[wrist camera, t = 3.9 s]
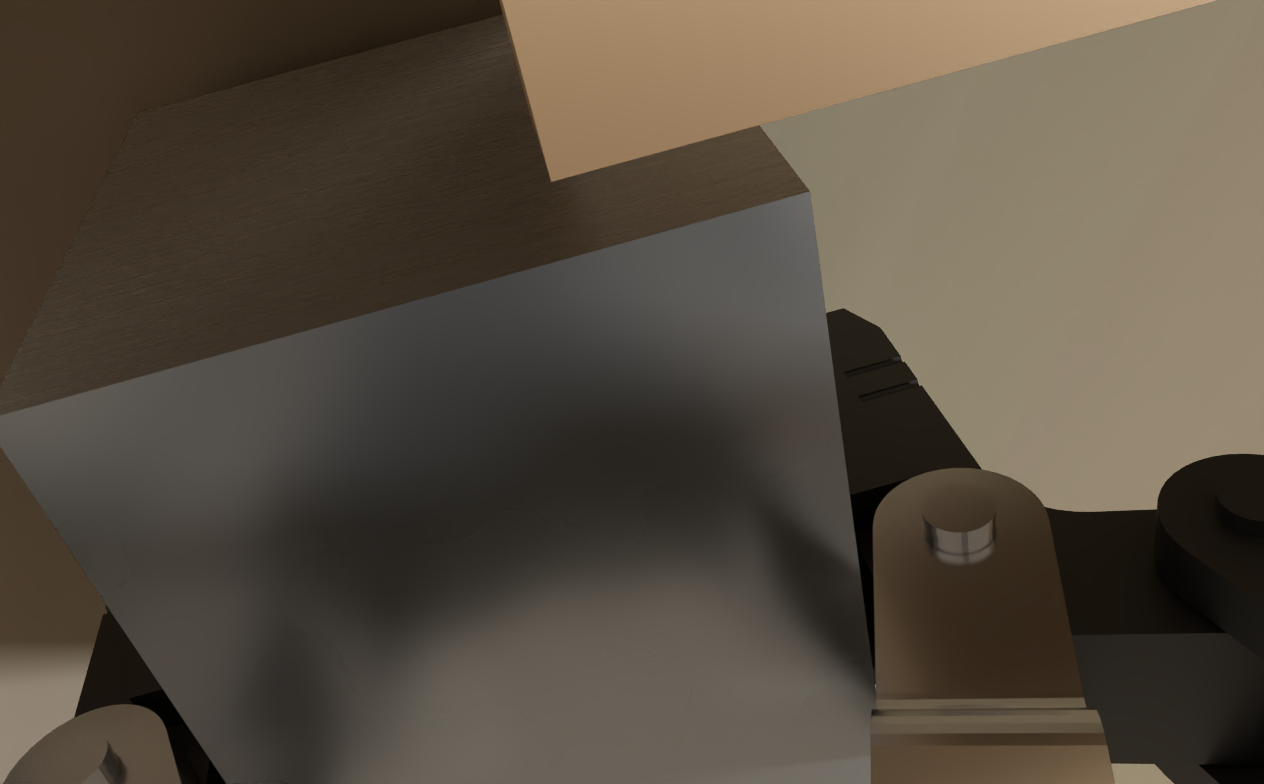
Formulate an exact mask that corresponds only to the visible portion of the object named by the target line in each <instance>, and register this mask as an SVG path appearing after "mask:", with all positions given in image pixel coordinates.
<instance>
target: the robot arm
mask: <svg viewBox="0 0 1264 784" xmlns="http://www.w3.org/2000/svg"><path fill="white" fill-rule="evenodd" d="M826 318H827V325H828V333H829V341H830V348H831V356H832V363H833V371H834V379H835V386H836V394H837V401H838V409H839V417H840V424H841V432H842V439H843V447H844V455H845V462H846V470H847V477H848V485H849V493H850V500H851V508H852V515H853V523H854V531H855V538H856V546H857V554H858V561H859V569H860V576H861V584H862V592H863V599H864V607H865V614H866V622H867V630H868V637H869V645H870V652H871V660H872V668H873V675H874V683H875V684H876V709H872V711H871V723H870V754H871V784H1115V781H1114V776H1113V771H1112V767H1111V763H1126V764H1155V765H1156V766H1157V767H1158V768H1159V769H1160V770H1161V771H1162V772H1163V773H1164V774H1165V775H1166V776H1167V777H1168V778H1169V779H1170V780H1171V781H1172V782H1173V783H1174V784H1264V455H1256V454H1227V455H1221V456H1214V457H1209V458H1206V459H1202V460H1199V461H1196V462H1194V463H1191V464H1189V465H1187V466H1185V467H1183V468H1182V469H1180V470H1178V471H1177V472H1175V473H1174V474H1173V475H1172V476H1171V477H1170V478H1169V479H1168V480H1167V481H1166V482H1165V484H1164V485H1163V487H1162V489H1161V491H1160V494H1159V497H1158V503H1157V509H1156V510H1130V511H1105V512H1073V511H1064V510H1056V509H1051V508H1047V507H1044V506H1043V504H1042V502H1041V501H1040V499H1039V498H1038V497H1037V496H1036V495H1035V494H1034V493H1033V492H1032V491H1031V490H1029V489H1028V488H1027V487H1025V486H1024V485H1023V484H1021V483H1019V482H1017V481H1015V480H1014V479H1012V478H1010V477H1007V476H1004V475H1001V474H999V473H995V472H991V471H987V470H982V469H981V467H980V466H979V465H978V463H977V462H976V460H975V459H974V458H973V456H972V455H971V454H970V452H969V451H968V449H967V448H966V447H965V445H964V444H963V442H962V441H961V440H960V438H959V437H958V435H957V434H956V433H955V431H954V430H953V428H952V427H951V426H950V424H949V423H948V421H947V420H946V419H945V417H944V416H943V414H942V413H941V412H940V410H939V409H938V408H937V406H936V405H935V403H934V402H933V401H932V399H931V398H930V396H929V395H928V394H927V392H926V391H925V389H924V388H923V387H922V385H921V386H919V384H918V381H917V378H916V377H915V375H914V374H913V373H912V371H911V370H910V368H909V367H908V366H907V364H906V363H905V362H902V360H901V356H900V355H899V353H898V352H897V350H896V349H895V348H894V346H893V345H892V343H891V342H890V341H889V339H888V338H887V336H886V335H885V334H884V332H883V331H882V329H881V328H880V327H878V326H876V325H874V324H872V323H870V322H868V321H867V320H865V319H863V318H861V317H859V316H857V315H855V314H853V313H851V312H849V311H848V310H846V309H844V308H843V309H839V310H836V311H832V312H828V313H826ZM106 609H107V614H104V615H103V617H102V621H101V624H100V628H99V631H98V635H97V639H96V642H95V646H94V649H93V653H92V656H91V660H90V663H89V667H88V670H87V674H86V678H85V681H84V685H83V688H82V692H81V695H80V699H79V702H78V706H77V710H76V713H75V717H74V718H73V719H71V720H69V721H67V722H66V723H64V724H62V725H61V726H59V727H57V728H56V729H54V730H53V731H52V732H50V733H49V734H47V735H46V736H45V737H43V738H42V739H41V740H40V741H39V742H37V743H36V744H35V745H34V746H33V747H32V748H30V750H29V751H28V752H27V753H26V754H25V755H24V756H23V757H22V758H21V759H20V760H19V761H18V762H17V764H16V765H15V766H14V768H13V769H12V770H11V771H10V773H9V774H8V776H7V778H6V779H5V781H4V783H3V784H226V783H225V781H224V780H223V778H222V777H221V775H220V774H219V772H218V771H217V769H216V768H215V766H214V765H213V763H212V762H211V760H210V759H209V757H208V756H207V754H206V753H205V751H204V750H203V748H202V747H201V745H200V744H199V742H198V741H197V739H196V738H195V736H194V735H193V733H192V732H191V730H190V729H189V727H188V726H187V724H186V723H185V721H184V720H183V718H182V717H181V715H180V714H179V712H178V711H177V709H176V708H175V706H174V705H173V704H172V702H171V701H170V699H169V698H168V696H167V695H166V693H165V692H164V690H163V689H162V687H161V686H160V684H159V683H158V681H157V680H156V678H155V677H154V675H153V674H152V672H151V671H150V669H149V668H148V666H147V665H146V663H145V662H144V660H143V659H142V657H141V656H140V654H139V653H138V651H137V650H136V648H135V647H134V645H133V644H132V642H131V641H130V639H129V638H128V636H127V635H126V633H125V632H124V630H123V629H122V627H121V626H120V624H119V623H118V622H117V620H116V619H115V617H114V616H113V614H112V613H111V611H110V610H109V608H108V607H107V605H106Z"/></svg>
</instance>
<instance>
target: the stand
mask: <svg viewBox="0 0 1264 784" xmlns="http://www.w3.org/2000/svg"><path fill="white" fill-rule="evenodd" d="M1212 1H1216V0H499V2H500V5H501V9H502V13H503V16H504V20H505V24H506V27H507V31H508V35H509V38H510V42H511V46H512V49H513V53H514V57H515V60H516V64H517V68H518V71H519V75H520V79H521V82H522V86H523V90H524V93H525V97H526V101H527V104H528V108H529V112H530V115H531V118H532V122H533V125H534V128H535V131H536V134H537V138H538V141H539V144H540V147H541V151H542V154H543V157H544V160H545V163H546V167H547V170H548V173H549V176H550V180H551V182H552V181H556V180H560V179H563V178H567V177H571V176H574V175H578V174H582V173H585V172H589V171H593V170H596V169H600V168H604V167H607V166H611V165H615V164H618V163H622V162H626V161H629V160H633V159H637V158H640V157H644V156H648V155H651V154H655V153H659V152H662V151H666V150H670V149H673V148H677V147H681V146H684V145H688V144H692V143H695V142H699V141H703V140H706V139H710V138H714V137H717V136H721V135H725V134H728V133H732V132H736V131H739V130H743V129H747V128H750V127H754V126H758V125H761V124H765V123H769V122H772V121H776V120H780V119H783V118H787V117H791V116H794V115H798V114H802V113H805V112H809V111H813V110H816V109H820V108H824V107H827V106H831V105H835V104H838V103H842V102H846V101H849V100H853V99H857V98H860V97H864V96H868V95H871V94H875V93H879V92H882V91H886V90H890V89H893V88H897V87H901V86H904V85H908V84H912V83H915V82H919V81H923V80H926V79H930V78H934V77H937V76H941V75H945V74H948V73H952V72H955V71H959V70H963V69H966V68H970V67H974V66H977V65H981V64H985V63H988V62H992V61H996V60H999V59H1003V58H1007V57H1010V56H1014V55H1018V54H1021V53H1025V52H1029V51H1032V50H1036V49H1040V48H1043V47H1047V46H1051V45H1054V44H1058V43H1062V42H1065V41H1069V40H1073V39H1076V38H1080V37H1084V36H1087V35H1091V34H1095V33H1098V32H1102V31H1106V30H1109V29H1113V28H1117V27H1120V26H1124V25H1128V24H1131V23H1135V22H1139V21H1142V20H1146V19H1150V18H1153V17H1157V16H1161V15H1164V14H1168V13H1172V12H1175V11H1179V10H1183V9H1186V8H1190V7H1194V6H1197V5H1201V4H1205V3H1208V2H1212Z"/></svg>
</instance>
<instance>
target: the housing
mask: <svg viewBox="0 0 1264 784" xmlns="http://www.w3.org/2000/svg"><path fill="white" fill-rule="evenodd" d="M0 447H1V449H2V450H3V452H4V453H5V455H6V456H7V458H8V459H9V461H10V462H11V463H12V465H13V466H14V468H15V469H16V471H17V472H18V474H19V475H20V477H21V478H22V480H23V481H24V483H25V484H26V486H27V487H28V489H29V490H30V492H31V493H32V495H33V496H34V498H35V499H36V501H37V502H38V504H39V505H40V507H41V508H42V510H43V511H44V513H45V514H46V516H47V517H48V519H49V520H50V522H51V523H52V525H53V526H54V528H55V529H56V531H57V532H58V534H59V535H60V537H61V538H62V540H63V541H64V543H65V544H66V545H67V547H68V548H69V550H70V551H71V553H72V554H73V556H74V557H75V559H76V560H77V562H78V563H79V565H80V566H81V568H82V569H83V571H84V572H85V574H86V575H87V577H88V578H89V580H90V581H91V583H92V584H93V586H94V587H95V589H96V590H97V592H98V593H99V595H100V596H101V598H102V599H103V601H104V602H105V604H106V605H107V607H108V608H109V610H110V611H111V613H112V614H113V616H114V617H115V619H116V620H117V622H118V623H119V624H120V626H121V627H122V629H123V630H124V632H125V633H126V635H127V636H128V638H129V639H130V641H131V642H132V644H133V645H134V647H135V648H136V650H137V651H138V653H139V654H140V656H141V657H142V659H143V660H144V662H145V663H146V665H147V666H148V668H149V669H150V671H151V672H152V674H153V675H154V677H155V678H156V680H157V681H158V683H159V684H160V686H161V687H162V689H163V690H164V692H165V693H166V695H167V696H168V698H169V699H170V701H171V702H172V704H173V705H174V706H175V708H176V709H177V711H178V712H179V714H180V715H181V717H182V718H183V720H184V721H185V723H186V724H187V726H188V727H189V729H190V730H191V732H192V733H193V735H194V736H195V738H196V739H197V741H198V742H199V744H200V745H201V747H202V748H203V750H204V751H205V753H206V754H207V756H208V757H209V759H210V760H211V762H212V763H213V765H214V766H215V768H216V769H217V771H218V772H219V774H220V775H221V777H222V778H223V780H224V781H225V783H226V784H871V754H870V723H871V711H872V709H876V690H875V683H874V675H873V668H872V660H871V652H870V645H869V637H868V630H867V622H866V614H865V607H864V599H863V592H862V584H861V576H860V569H859V561H858V554H857V546H856V538H855V531H854V523H853V515H852V508H851V500H850V493H849V485H848V477H847V470H846V462H845V455H844V447H843V439H842V432H841V424H840V417H839V409H838V401H837V394H836V386H835V379H834V371H833V363H832V356H831V348H830V341H829V333H828V325H827V318H826V310H825V303H824V295H823V287H822V280H821V272H820V264H819V257H818V249H817V242H816V234H815V226H814V219H813V211H812V204H811V196H810V191H809V190H808V188H807V187H806V186H805V184H804V183H803V182H802V181H801V179H800V178H799V177H798V175H797V174H796V173H795V171H794V170H793V169H792V167H791V166H790V165H789V164H788V162H787V161H786V160H785V158H784V157H783V156H782V154H781V153H780V152H779V151H778V149H777V148H776V147H775V145H774V144H773V143H772V141H771V140H770V139H769V138H768V136H767V135H766V134H765V132H764V131H763V130H762V128H761V127H760V126H759V125H758V126H754V127H750V128H747V129H743V130H739V131H736V132H732V133H728V134H725V135H721V136H717V137H714V138H710V139H706V140H703V141H699V142H695V143H692V144H688V145H684V146H681V147H677V148H673V149H670V150H666V151H662V152H659V153H655V154H651V155H648V156H644V157H640V158H637V159H633V160H629V161H626V162H622V163H618V164H615V165H611V166H607V167H604V168H600V169H596V170H593V171H589V172H585V173H582V174H578V175H574V176H571V177H567V178H563V179H560V180H556V181H552V182H551V180H550V176H549V173H548V170H547V167H546V163H545V160H544V157H543V154H542V151H541V147H540V144H539V141H538V138H537V134H536V131H535V128H534V125H533V122H532V118H531V115H530V112H529V108H528V104H527V101H526V97H525V93H524V90H523V86H522V82H521V79H520V75H519V71H518V68H517V64H516V60H515V57H514V53H513V49H512V46H511V42H510V38H509V35H508V31H507V27H506V24H505V20H504V16H503V14H502V15H498V16H494V17H491V18H487V19H483V20H479V21H476V22H472V23H468V24H465V25H461V26H457V27H453V28H450V29H446V30H442V31H439V32H435V33H431V34H427V35H424V36H420V37H416V38H413V39H409V40H405V41H401V42H398V43H394V44H390V45H387V46H383V47H379V48H375V49H372V50H368V51H364V52H361V53H357V54H353V55H350V56H346V57H342V58H338V59H335V60H331V61H327V62H324V63H320V64H316V65H312V66H309V67H305V68H301V69H298V70H294V71H290V72H286V73H283V74H279V75H275V76H272V77H268V78H264V79H260V80H257V81H253V82H249V83H246V84H242V85H238V86H234V87H231V88H227V89H223V90H220V91H216V92H212V93H208V94H205V95H201V96H197V97H194V98H190V99H186V100H182V101H179V102H175V103H171V104H168V105H164V106H160V107H157V108H153V109H149V110H145V111H142V112H138V113H137V115H136V117H135V119H134V121H133V123H132V125H131V127H130V129H129V131H128V133H127V135H126V137H125V139H124V141H123V143H122V145H121V147H120V149H119V151H118V153H117V155H116V157H115V159H114V161H113V163H112V165H111V167H110V169H109V171H108V173H107V175H106V177H105V179H104V181H103V183H102V185H101V187H100V189H99V191H98V193H97V195H96V197H95V199H94V200H93V202H92V204H91V206H90V208H89V210H88V212H87V214H86V216H85V218H84V220H83V222H82V224H81V226H80V228H79V230H78V232H77V234H76V236H75V238H74V240H73V242H72V244H71V246H70V248H69V250H68V252H67V254H66V256H65V258H64V260H63V262H62V264H61V266H60V268H59V270H58V272H57V274H56V276H55V278H54V280H53V282H52V284H51V286H50V288H49V290H48V292H47V294H46V296H45V298H44V300H43V302H42V304H41V306H40V308H39V310H38V312H37V314H36V316H35V318H34V320H33V322H32V324H31V326H30V328H29V330H28V332H27V333H26V335H25V337H24V339H23V341H22V343H21V345H20V347H19V349H18V351H17V353H16V355H15V357H14V359H13V361H12V363H11V365H10V367H9V369H8V371H7V373H6V375H5V377H4V379H3V381H2V383H1V385H0Z"/></svg>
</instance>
